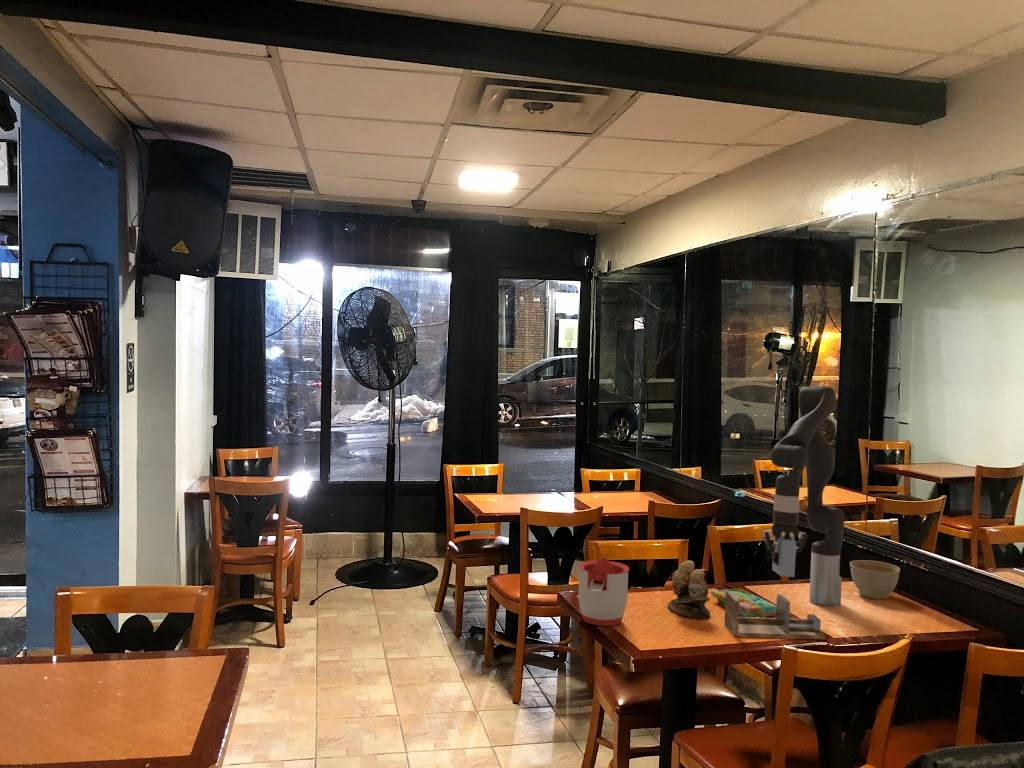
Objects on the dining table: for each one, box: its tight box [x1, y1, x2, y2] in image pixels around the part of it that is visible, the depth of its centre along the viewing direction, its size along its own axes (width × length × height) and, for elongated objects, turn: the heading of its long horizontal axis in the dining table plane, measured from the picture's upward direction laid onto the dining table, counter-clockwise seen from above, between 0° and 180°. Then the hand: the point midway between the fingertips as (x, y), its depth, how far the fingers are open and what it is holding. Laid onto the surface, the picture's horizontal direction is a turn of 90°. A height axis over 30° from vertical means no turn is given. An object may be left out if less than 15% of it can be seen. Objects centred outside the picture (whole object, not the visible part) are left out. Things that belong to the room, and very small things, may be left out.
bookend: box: [775, 593, 822, 632], centre depth 229 cm, size 11×8×9 cm
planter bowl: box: [849, 559, 901, 600], centre depth 271 cm, size 16×16×11 cm
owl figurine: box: [667, 560, 711, 621], centre depth 245 cm, size 18×12×17 cm, turn 21°
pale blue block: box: [771, 536, 797, 578], centre depth 235 cm, size 4×8×11 cm, turn 0°
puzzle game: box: [710, 588, 777, 618], centre depth 251 cm, size 12×5×20 cm
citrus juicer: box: [578, 556, 630, 628], centre depth 233 cm, size 16×17×20 cm
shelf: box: [724, 591, 826, 640], centre depth 229 cm, size 27×10×11 cm, turn 90°
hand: (783, 564), depth 235 cm, fingers closed on pale blue block, 4 cm apart
